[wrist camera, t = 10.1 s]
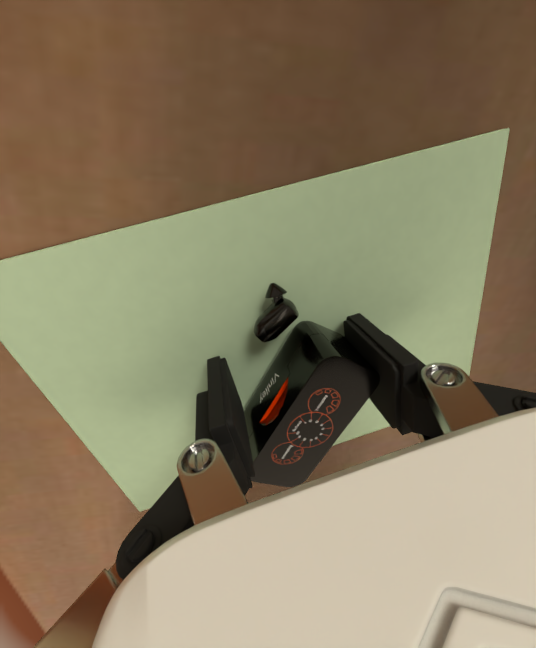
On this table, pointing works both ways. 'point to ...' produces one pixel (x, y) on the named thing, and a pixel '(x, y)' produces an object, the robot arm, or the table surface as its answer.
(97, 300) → the desk mat
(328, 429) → the wireless earbuds
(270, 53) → the table surface
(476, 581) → the robot arm
